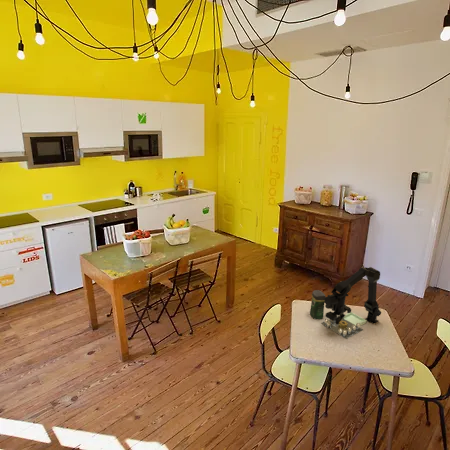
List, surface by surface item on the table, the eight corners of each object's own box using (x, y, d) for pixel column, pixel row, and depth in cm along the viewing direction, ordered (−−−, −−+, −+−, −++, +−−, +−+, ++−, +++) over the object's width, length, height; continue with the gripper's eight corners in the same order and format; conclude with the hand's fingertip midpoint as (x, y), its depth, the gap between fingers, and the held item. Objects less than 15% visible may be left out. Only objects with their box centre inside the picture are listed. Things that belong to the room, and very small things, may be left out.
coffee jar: (324, 319, 230) (327, 295, 224) (313, 320, 228) (316, 296, 223) (318, 312, 239) (321, 288, 233) (308, 312, 238) (310, 289, 232)
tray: (350, 315, 236) (351, 312, 235) (366, 323, 227) (366, 320, 226) (342, 318, 231) (343, 315, 231) (358, 327, 222) (358, 324, 221)
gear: (341, 322, 226) (342, 319, 225) (349, 326, 221) (349, 323, 221) (336, 325, 223) (337, 322, 222) (343, 329, 218) (344, 326, 218)
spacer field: (337, 316, 234) (338, 310, 233) (363, 330, 219) (364, 325, 218) (320, 324, 224) (321, 318, 223) (345, 340, 209) (346, 334, 208)
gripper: (338, 293, 224) (335, 314, 228) (319, 301, 214) (317, 322, 218) (353, 300, 215) (350, 322, 220) (334, 309, 205) (331, 331, 210)
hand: (336, 324), depth 217 cm, fingers closed
